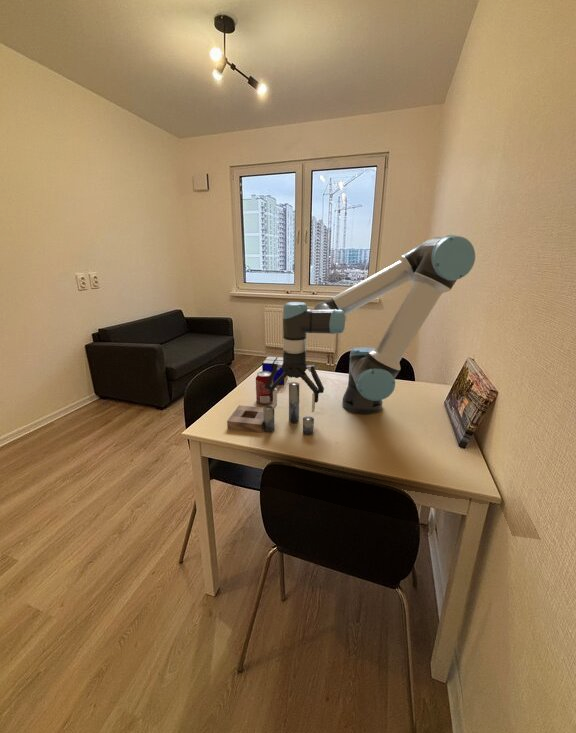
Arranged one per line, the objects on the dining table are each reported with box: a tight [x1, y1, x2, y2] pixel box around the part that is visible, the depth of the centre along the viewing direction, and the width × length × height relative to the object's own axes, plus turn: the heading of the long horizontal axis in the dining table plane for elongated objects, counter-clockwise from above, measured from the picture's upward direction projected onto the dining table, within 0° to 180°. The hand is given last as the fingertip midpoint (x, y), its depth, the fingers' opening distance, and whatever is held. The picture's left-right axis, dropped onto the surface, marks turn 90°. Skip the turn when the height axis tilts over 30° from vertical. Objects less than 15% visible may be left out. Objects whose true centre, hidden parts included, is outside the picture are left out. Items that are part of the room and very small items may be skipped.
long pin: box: [288, 381, 300, 424], centre depth 112 cm, size 4×4×14 cm
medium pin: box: [263, 405, 276, 434], centre depth 107 cm, size 4×4×8 cm
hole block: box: [226, 404, 264, 433], centre depth 113 cm, size 12×12×3 cm
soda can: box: [255, 371, 273, 405], centre depth 127 cm, size 7×7×12 cm
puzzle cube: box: [261, 356, 289, 386], centre depth 149 cm, size 10×10×10 cm
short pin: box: [302, 416, 315, 436], centre depth 106 cm, size 4×4×5 cm
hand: (293, 408), depth 113 cm, fingers open, 13 cm apart
